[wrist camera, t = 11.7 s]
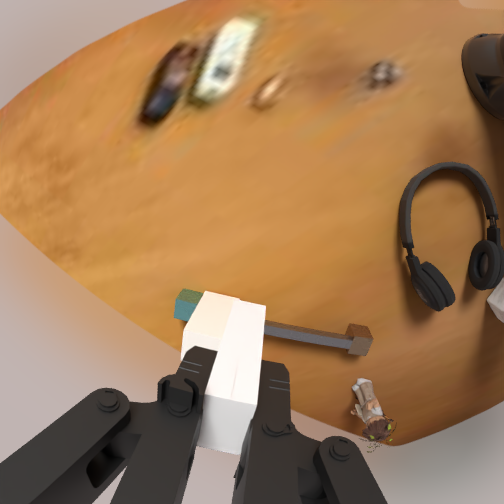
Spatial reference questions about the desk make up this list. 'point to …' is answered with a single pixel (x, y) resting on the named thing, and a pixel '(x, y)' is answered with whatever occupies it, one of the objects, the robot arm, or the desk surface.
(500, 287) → the skincare box
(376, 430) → the toy
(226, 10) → the desk surface
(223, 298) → the sleeve
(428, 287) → the headphones
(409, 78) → the desk surface
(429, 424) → the desk surface
